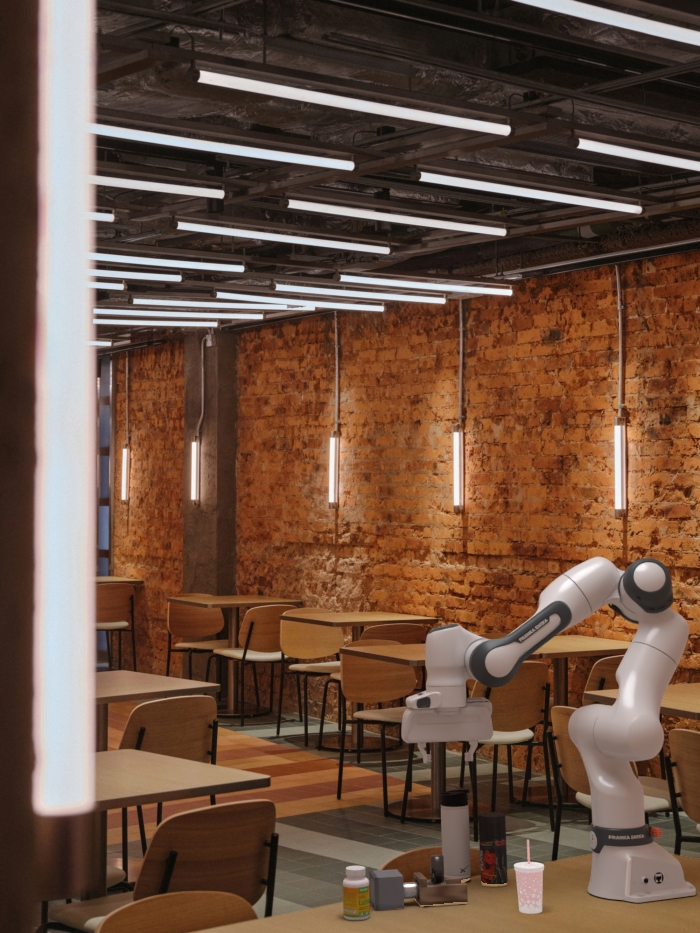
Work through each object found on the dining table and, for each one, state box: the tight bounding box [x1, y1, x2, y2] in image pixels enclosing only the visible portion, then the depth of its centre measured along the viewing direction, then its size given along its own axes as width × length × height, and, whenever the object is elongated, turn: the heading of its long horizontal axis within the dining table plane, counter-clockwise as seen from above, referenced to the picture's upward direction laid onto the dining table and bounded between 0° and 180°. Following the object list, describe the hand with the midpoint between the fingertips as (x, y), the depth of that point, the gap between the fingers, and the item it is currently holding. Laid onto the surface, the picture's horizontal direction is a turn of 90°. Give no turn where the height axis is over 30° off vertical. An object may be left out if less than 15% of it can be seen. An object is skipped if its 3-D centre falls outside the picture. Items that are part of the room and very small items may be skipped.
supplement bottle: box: [342, 865, 371, 921], centre depth 243 cm, size 5×5×10 cm
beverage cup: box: [513, 839, 545, 915], centre depth 245 cm, size 6×6×14 cm
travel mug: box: [440, 788, 472, 880], centre depth 272 cm, size 6×7×20 cm
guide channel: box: [412, 871, 469, 905], centre depth 253 cm, size 10×6×6 cm, turn 99°
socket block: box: [368, 869, 405, 912], centre depth 251 cm, size 6×6×6 cm
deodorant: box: [478, 811, 509, 884], centre depth 268 cm, size 6×6×15 cm
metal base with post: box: [403, 854, 446, 900], centre depth 252 cm, size 14×3×8 cm, turn 99°
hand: (448, 762), depth 266 cm, fingers open, 8 cm apart
